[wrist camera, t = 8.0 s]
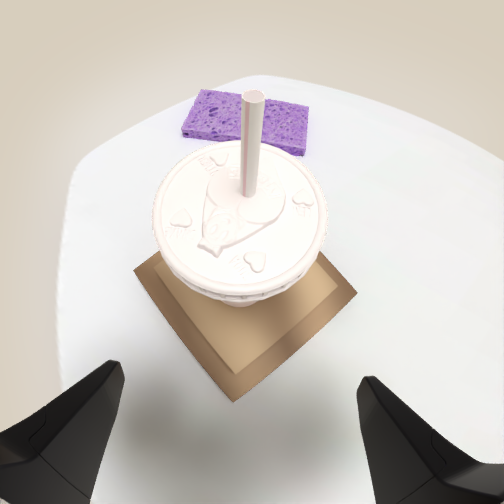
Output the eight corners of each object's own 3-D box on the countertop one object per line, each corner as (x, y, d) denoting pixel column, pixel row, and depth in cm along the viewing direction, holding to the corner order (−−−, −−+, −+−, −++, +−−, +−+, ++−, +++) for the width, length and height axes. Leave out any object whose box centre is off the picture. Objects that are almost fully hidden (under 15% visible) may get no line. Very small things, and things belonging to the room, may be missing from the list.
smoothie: (303, 263, 19) (399, 100, 6) (257, 346, 17) (315, 313, 4) (223, 220, 20) (208, 33, 7) (172, 295, 18) (53, 160, 5)
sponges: (202, 100, 30) (201, 88, 28) (308, 117, 30) (311, 105, 28) (181, 140, 27) (179, 128, 26) (303, 161, 27) (306, 149, 25)
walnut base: (233, 399, 19) (232, 406, 16) (139, 276, 22) (126, 264, 19) (350, 297, 22) (365, 288, 19) (254, 193, 25) (256, 173, 22)
